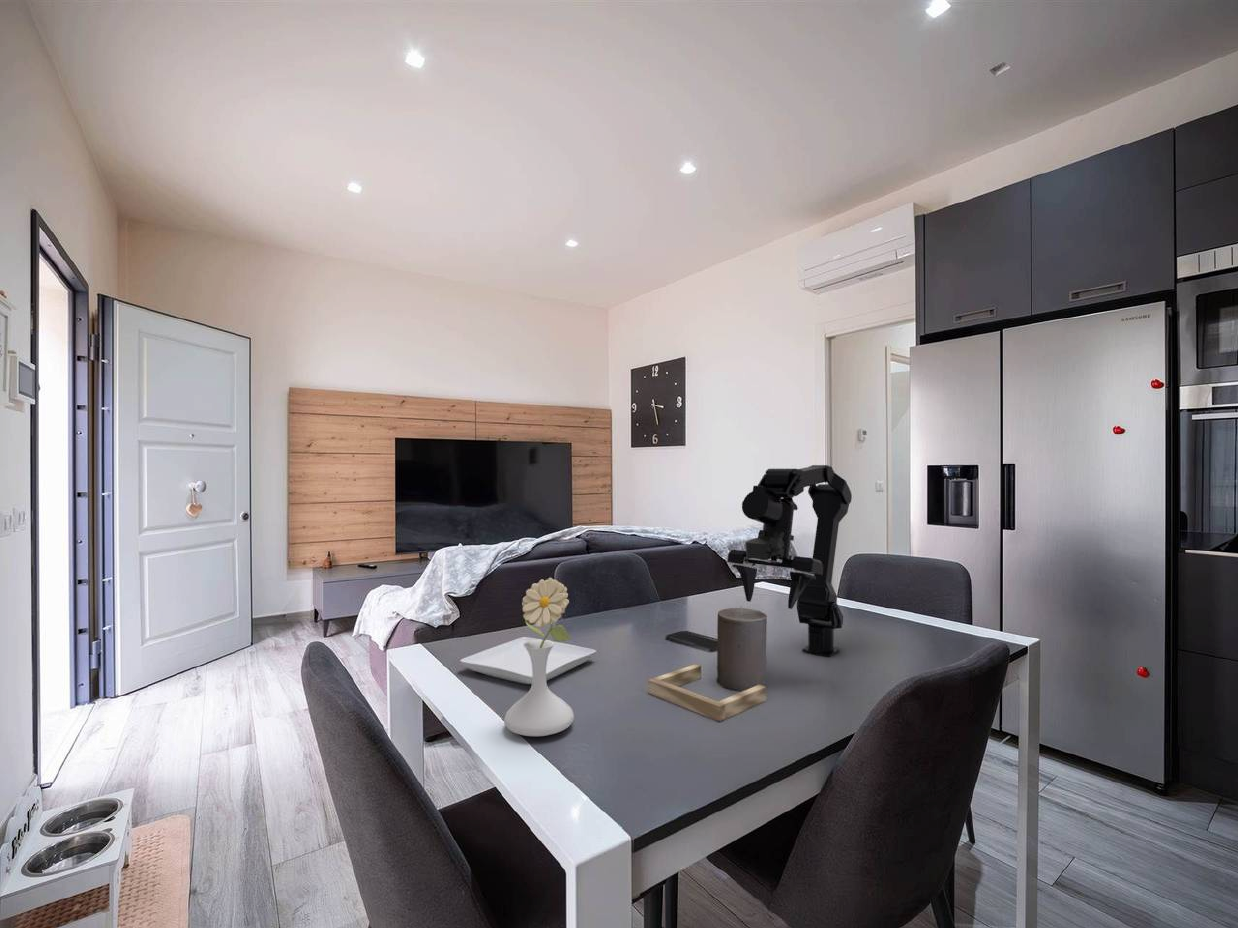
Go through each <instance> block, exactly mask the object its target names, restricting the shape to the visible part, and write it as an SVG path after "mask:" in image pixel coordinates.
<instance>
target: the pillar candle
mask: <svg viewBox="0 0 1238 928" xmlns="http://www.w3.org/2000/svg"><path fill="white" fill-rule="evenodd" d="M767 617H768V616H767V614H766V613H764V612H762V611H760V610H756V609H752V608H751V609H750V608H744V607H742V606H740V607H730V608H724V609H720V610H718V611H717V622H716V623H717V625H716V626H717V627H716V628H717V631H716V632H717V638H716V639H717V651H716V653H717V654H716V655H717V656H716V659H717V661H716V662H717V663H716V664H717V665H716V672H717V673H716V674H717V676H716V683H717V684H718V685H719V686H721V687H723V688H725V689H728V690H731V691H736V692H743V691H745V690H747V689H750V688H752V687H755V686H757V685H762V686H765V687H767V686H766V684H767V620H768V619H767Z"/></svg>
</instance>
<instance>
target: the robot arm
mask: <svg viewBox="0 0 1238 928" xmlns="http://www.w3.org/2000/svg"><path fill="white" fill-rule="evenodd" d="M824 483H825V484H824ZM805 488H808V490H807V493H808V495H809V497H810V498H811V501H812V503H811V504H812V509H813V511H814V513H815V515H816V518H817V522H816V528H815V529H816V530H815V537H814V543H813V544H814V545H813V552H812V557H805V556H795V555H794V557H793V556H792V555H791V554H790V550H791V541H793V542H794V539H795V536H794V535H793V534H792V530H793V520H794V512H795V511H797V510H798V506H797V504H796V503H795V501H794V499H793V498H794V497H797V496H799V495H800V494H802V493H803V492H804V491H805ZM852 498H853V495H852V491H851V489H850V487H849V485H848V483H847V481H846V480H845V479H844V478H842V477H841V476H840V475H839V474H837V473H835V471H834V469H833V467H832V466H830V465H828V464H812V465H810V466H807V467H801V468H767V469H766V471H765V474H763V475H762V478H761V479H760V481H759V483H758V484H757V485H753V488H752V491H750V492H749V493H747V495H745V497H744V499H743V500H742V502H741V511H742V513H743V515H744V516H745V517H746V518H748V519H750V520H753V521H756V522H759V523H762V524H763V526H762V529H759V530H758V531H759V532H758V534H757V535H758V536H757V537H755V538H752V539H750V540H746V541H745V550H739V549H730V551H729V552H728V554H727V559H726V562H727V563H731V566H732V567H733V568H735V569H736V570H737V572H738V573H739V575H740V579H741V581H742V582H741V583H742V586H743V591H744V594H745V600H746V602H752V599H753V595H754V589H755V584H756V578H757V573H758V569H757V568H755V566H756V565H759V566H769V567H776V568H777V567H778V568H786V569H793V570H794V571H789V576H790V588H789V594H788V602H787V604H788V606H787V607H788V609H790V610H791V609H793V608H794V607H795V606H796V610H797V617H798V623H799V624H806V625H807V646H805V647H803V648H802V650H801V651H802V652H803V653H804V652H805V653H808V654H809V653H810V654H813V655H814V654H815V655H819V656H825V657H832V656H834V654H836V653H838V651H840V648H839V647H835V630H836V629H842V628H843V623H844V614H843V613H842V611H841V609H840V606H839V605H838V603H837V602H838V596H837V593H836V591H835V588H834V587H833V584H832V580H833V572H834V565H835V564H834V563H835V556H836V551H837V550H836V549H837V540H838V533H839V526H840V525H839V523H840V522H841V521H842V520H843V519H844V517H845V516H846V515H847V514H848V512H849V507H850V504H851V503H852ZM778 560H781V561H778ZM795 604H796V605H795Z"/></svg>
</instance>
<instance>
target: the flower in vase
mask: <svg viewBox="0 0 1238 928" xmlns="http://www.w3.org/2000/svg"><path fill="white" fill-rule="evenodd" d="M567 591H568V588H567V586H565V585H564V584H563V583H561V582H559V580H557V579H553V578H552V577H549V578H547V579H545V580H544V579H543V578H542V579H540V580H539V582H537V583H532V584H531V587H530V588H528V589H526V591H525V594H526V595H525V596H524V597H523V598H522V602H521V606H522V611H523V615H522V617H523V618H524V620H525V624H526V626H527V627H528V628H529V629H530V630H531V631H532V632H534V633H535V634H538V635H539V636H541V637H543V639H542V640H532V641H528V642H526V643H524V647H525V648H526V649H527V651H528V653H529V655H530V658H531V663H532V685H531V687H530V688H529V690H528V692H527V693H526V694H524V696H522V697H521V698H519V699H518V700H517V701H516V702H515V703H514V704H513V705H511V707H510V708H509V709H508V710H507V711H506V713H505V716H504V720H503V722H504V725H505V726H506V728H507V730H509V731H511V732H512V733H515V734H517V735H519V736H520V735H521V736H525V737H545V736H550V735H554V734H558V733H560V732H563V731H564V730H566V729H567V728H568V727H570V726H571V724H572V723H573V721H574V719H575V715H574V714H575V713H574V711H573V709H572V707H571V706H569V704H568V703H567V702H565V700H563V699H562V698H560V697H559V696H558V695H556V694H554V692H552V691H551V690H550V688H549V687H548V683H547V681H546V666H547V660H548V656H549V653H550V651H551V649H552V647H553V646H554V644H555V643H554V642H559V643H560V642H564V641H565V642H566V641H569V640H571V638H570V636H569V634H568V632H567V630H566V629H565V627H564V625H562V624H559V625H556V626H553V625H554V623H556V622H557V621H558V620H560V619H561V616H562V615H561V614H564V613H565V611H566V608H567V606H568V604H569V603H570V601H569V599H567V598H568V596H569V593H568V592H567ZM531 624H533V625H534V626H535V627H534V626H533V625H531ZM548 624H550V627H549V629H548V631H547V632H546V634H544V633H543V632H542V630H540V629H538V628H540V627H543V628H544V627H545V626H547V625H548ZM549 635H551V637H552V639H553V641H554V642H553V641H552V640H549V639H547V638H548V636H549Z"/></svg>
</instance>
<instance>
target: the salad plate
mask: <svg viewBox="0 0 1238 928" xmlns="http://www.w3.org/2000/svg"><path fill="white" fill-rule="evenodd" d="M532 640H543V639H539V638H535V637H528V636H523V637H519V638H516V639H513V640H510V641H508V642H504V643H502V644H499V645H496V646H494V647H491V648H487V649H485V650H482V651H479V652H477V653H475V654H471V655H469V656H466V657H464V658H462V659H460V660H459V661H460V664H461V665H462V666H464V668H467V669H469V670H471V671H473V672H477V673H481V674H484V675H486V676H491V677H494V678H498V679H501V680H502V679H503V680H506V681H511V682H513V683H514V682H515V683H520V684H522V685H523V684H524V685H531V686H532V663H531V658H530V655H529V653H528V651H527V649H526V648H525V647H524V643H526V642H528V641H532ZM553 642H554V643H555V644H554V646H553V647H552V649H551V651H550V653H549V656H548V660H547V666H546V682H547V681H549V680H551V679H554V678H556V677H557V676H559V675H562V674H564V673H566V672H567V671H570V670H571V669H574V668H575V667H577V666H579V665H582V664H584V663H586V662H587V661H589V660H591V658H593V657H594V655H595V654H596V653H597V650H596V649H593V648H589V647H583V646H578V645H573V644H569V643H565V642H560V641H559V642H556V641H554V640H553Z"/></svg>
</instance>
